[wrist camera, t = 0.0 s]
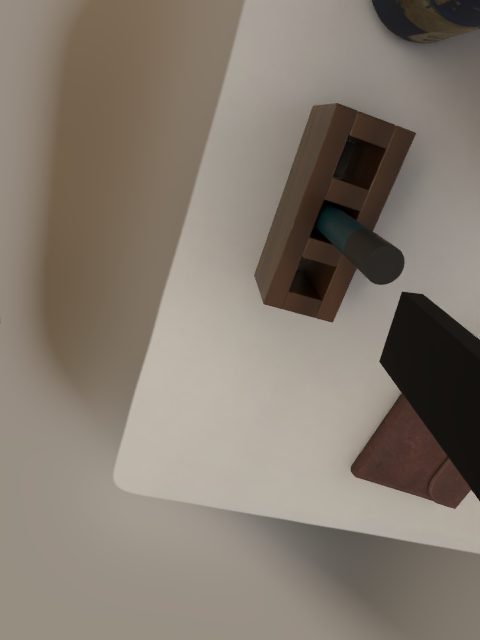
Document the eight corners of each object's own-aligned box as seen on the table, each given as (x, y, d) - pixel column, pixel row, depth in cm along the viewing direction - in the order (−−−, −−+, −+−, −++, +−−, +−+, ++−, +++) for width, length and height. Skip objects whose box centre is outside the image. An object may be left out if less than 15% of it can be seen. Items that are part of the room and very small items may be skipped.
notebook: (348, 466, 52) (354, 478, 50) (444, 328, 45) (454, 336, 43) (449, 497, 56) (457, 510, 54) (552, 373, 49) (565, 383, 47)
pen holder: (254, 275, 41) (263, 304, 35) (313, 105, 36) (336, 102, 29) (313, 292, 42) (332, 323, 36) (379, 130, 37) (416, 132, 30)
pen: (298, 199, 39) (360, 254, 23) (321, 190, 38) (401, 239, 23) (305, 222, 40) (369, 290, 24) (328, 214, 39) (408, 276, 24)
